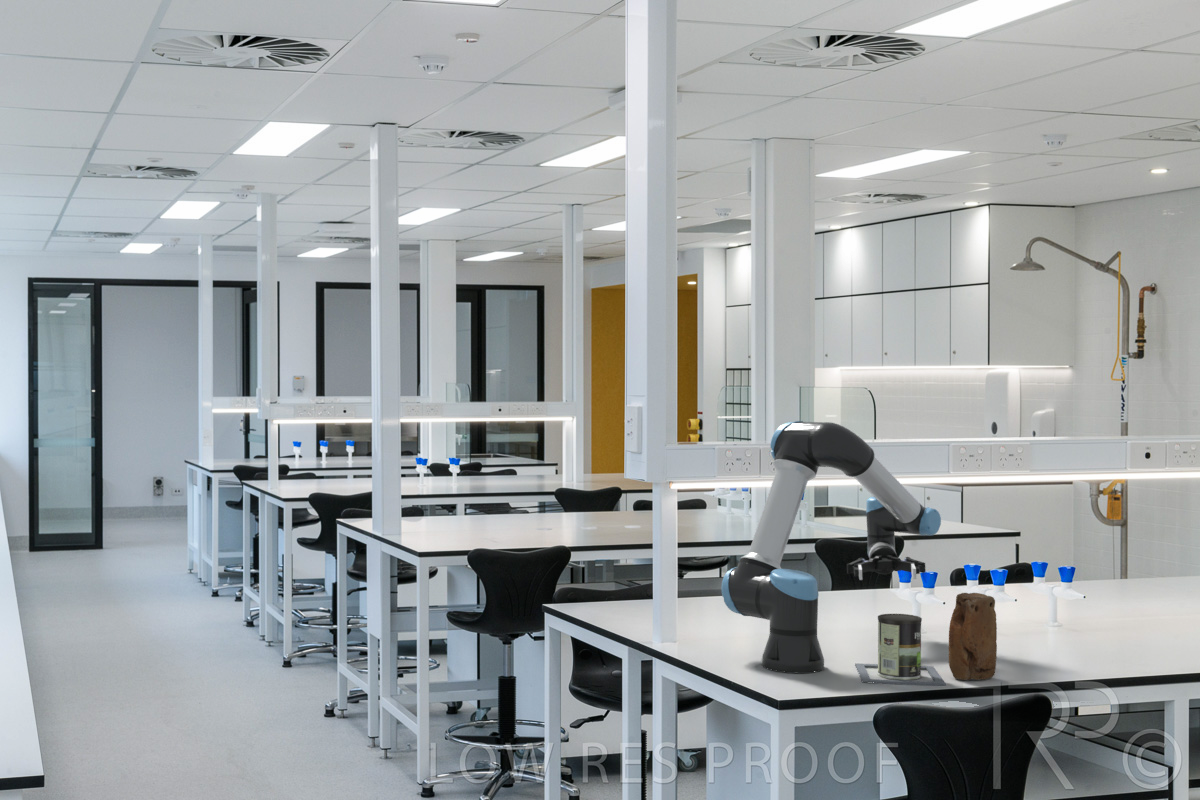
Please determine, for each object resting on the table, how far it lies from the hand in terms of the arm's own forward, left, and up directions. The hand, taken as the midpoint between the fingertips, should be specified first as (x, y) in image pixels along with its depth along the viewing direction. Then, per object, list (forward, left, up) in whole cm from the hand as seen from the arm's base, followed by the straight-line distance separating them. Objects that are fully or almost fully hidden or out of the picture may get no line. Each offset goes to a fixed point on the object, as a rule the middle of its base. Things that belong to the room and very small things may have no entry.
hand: (887, 574), depth 313 cm
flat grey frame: (0, -22, -21) cm, 30 cm away
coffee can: (0, -22, -21) cm, 31 cm away
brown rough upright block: (+17, -22, -21) cm, 35 cm away
